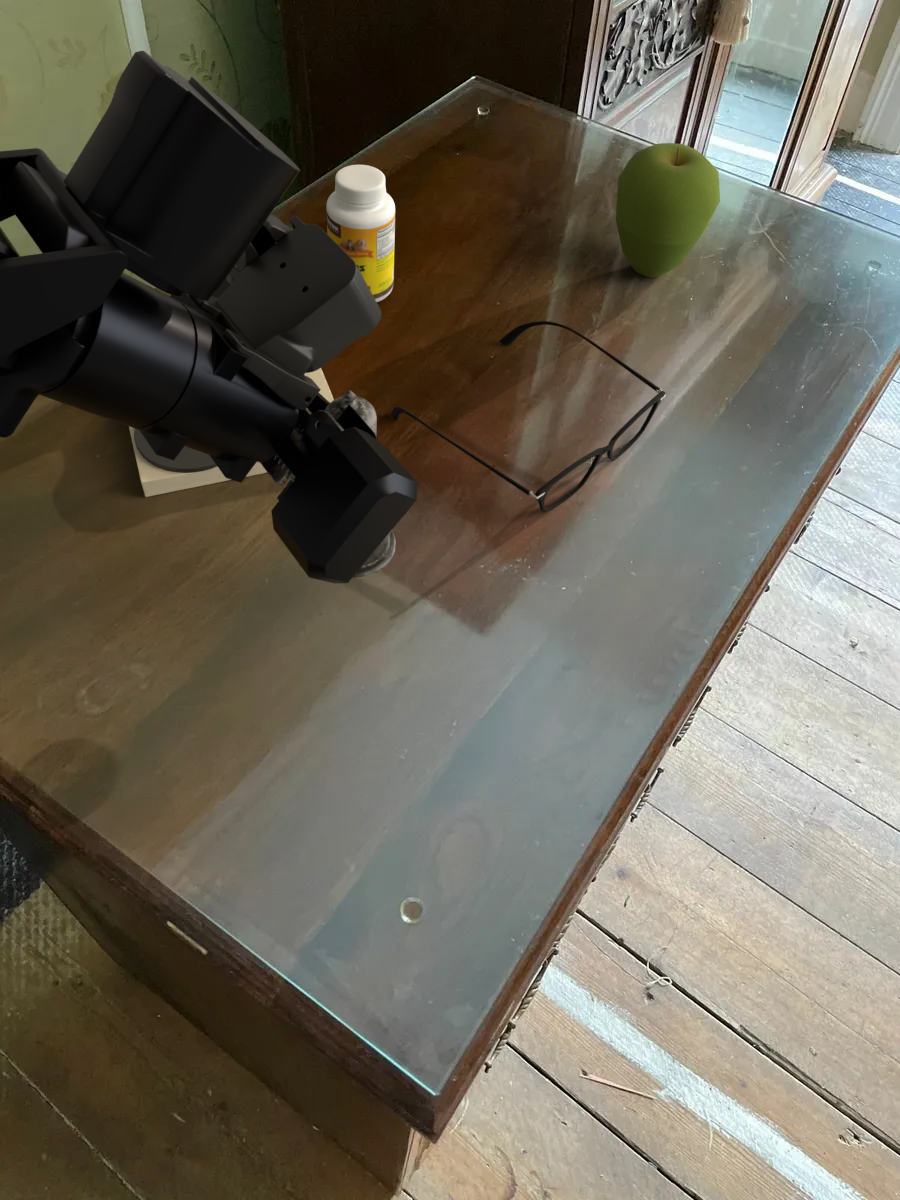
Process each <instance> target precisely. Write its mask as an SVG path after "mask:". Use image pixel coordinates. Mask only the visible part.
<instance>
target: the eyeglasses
mask: <svg viewBox="0 0 900 1200" xmlns="http://www.w3.org/2000/svg"><path fill="white" fill-rule="evenodd" d="M545 325H548V326H554V327H559V328H562V329H565V330H568V331H569V332H571V333H573V334H575V335H576V336H578V337H580V338H582V339H583V340H584V341H586V342H587V343H589V344H590V345H592V346H593V347H595V348H596V349H598V350H599V351H600V352H601V353H603V354H604V355H606V356H607V357H609V358H610V359H612V360H613V361H614V362H615V363H617V364H618V365H620V366H621V367H622V368H624V369H625V370H626V371H628V372H629V373H630V374H631V375H633V376H634V377H636V378H637V379H638V380H640V382H642V383H644V384H645V385H647V386H648V387H649V388H650V389H652V390H653V391H655V392H656V393H657V394H656V395H654V396H653V398H651V400H649V401H648V402H647V403H646V404H644V405H643V406H642V407H641V408H640V409H638V411H637V412H636V413H635V414H634V415H633V416H632V417H631V418H630V419H629V420H628V421H627V422H626V423H625V424H623V426H621V428H619V430H618V431H617V432H616V433H615V434H614V435H613V436H612V437H611V439H610V440H609V442H608V444H607V445H606V446H603V447H598V448H596V449H594V450H593V451H591V452H589V453H587V454H585V455H584V456H582V457H581V458H579V459H577V460H576V461H574V462H573V463H572V464H570V465H568V466H567V467H566V468H564V469H563V470H562V471H560V472H559V473H558V474H556V475H555V476H553V477H552V478H551V479H550V480H548V481H547V482H546V483H544V484H543V485H542V486H541V487H539V488H538V489H537V490H536V491H535V493H534V492H533V490H530V489H528V488H527V487H525V486H523V485H522V484H520V483H519V482H517V481H516V480H514V479H513V478H511V477H509V476H508V475H507V474H506V473H505V474H504V473H503V472H502V471H500V470H499V469H497V468H495V466H492V465H490V463H487V462H486V461H484V460H483V459H481V458H480V457H479V456H477V455H475V454H474V453H472V452H471V451H469V450H467V449H465V448H464V447H463V446H461V445H460V444H458V443H457V442H455V441H453V440H452V439H450V438H448V437H447V436H445V435H444V434H442V433H441V432H439V431H438V430H436V429H435V428H433V427H432V426H430V425H429V424H428V423H426V422H425V421H423V420H422V419H420V418H419V417H417V416H416V415H415V414H413V413H411V412H410V411H408V410H406V409H405V408H403V407H402V406H400V405H399V406H397V405H396V406H395V407H393V408H392V410H391V412H390V417H391V418H392V420H394V421H395V422H397V421H398V419H399V417H400V415H401V414H405V415H407V416H409V417H410V418H412V419H413V420H415V421H417V422H418V423H419V424H421V425H423V426H424V427H426V429H429V430H430V431H432V432H433V433H435V434H436V435H438V436H439V437H441V438H442V439H444V440H445V441H447V442H448V443H449V444H451V445H452V446H454V447H455V448H457V449H458V450H460V451H461V452H463V453H465V454H466V455H467V456H469V458H472V459H474V460H475V461H476V462H478V463H479V464H481V465H482V466H484V467H485V468H486V469H488V470H490V471H491V472H493V473H494V474H496V475H497V476H499V477H500V478H502V479H503V480H505V481H506V482H508V483H509V484H511V485H512V486H514V487H515V488H516V489H518V490H519V491H521V492H522V493H524V494H526V495H527V496H529V498H534V499H535V500H536V501H537V502H538V505H539V506H538V507H539V509H540V511H542V512H543V513H548V512H550V511H552V510H554V509H555V508H557V507H558V506H561V504H563V503H565V502H566V501H567V500H569V498H571V497H572V496H574V495H575V494H576V493H577V492H579V490H580V489H582V488H583V486H584V485H585V484H586V482H588V480H589V478H590V477H591V475H592V473H593V472H594V470H595V469H596V467H597V465H598V464H599V462H600V460H601V459H602V457H603V458H606V457H607V459H608V460H610V461H611V462H613V461H615V460H617V459H618V458H620V457H621V456H622V455H623V454H624V453H625V452H627V450H629V448H631V447H632V446H633V445H634V444H635V442H636V441H637V440H638V439H640V437H641V436H642V434H643V433H644V431H645V430H646V428H647V427H648V425H649V424H650V422H651V420H652V418H653V416H654V415H655V413H656V411H657V409H658V407H659V405H660V404H661V403H662V401H663V400H664V398H666V396H667V393H666V391H664V390H663V389H662V388H660V387H659V386H657V385H656V384H654V382H652V381H650V380H649V379H648V378H646V377H645V376H643V375H642V374H641V373H640V372H638V371H636V370H635V369H633V368H631V366H629V365H628V364H626V363H625V362H623V361H622V360H620V359H619V358H617V357H616V356H614V355H613V354H611V353H610V352H608V351H607V350H606V349H604V348H603V347H601V346H600V345H598V344H597V343H596V342H594V341H593V340H591V339H589V338H587V336H585V335H583V334H582V333H580V332H579V331H577V330H575V329H573V328H571V327H569V326H567V325H564V324H561V323H558V322H553V321H548V320H547V321H546V320H539V321H531V322H527V323H523V324H520V325H518V326H516V327H515V328H513V329H512V330H510V331H508V333H506V334H505V335H504V336H503V337H502V338H501V339H499V340H498V343H500V344H502V345H505V346H510V345H512V344H513V343H514V342H515V340H516V339H518V337H520V336H521V334H523V333H524V332H525V331H527V330H528V329H530V328H532V327H537V326H545ZM650 408H651V409H650ZM649 409H650V411H649V413H648V414H647V416H646V418H645V420H644V422H643V424H641V427H640V429H639V430H638V431H637V433H636V434H635V435H634V436H633V437H632V439H630V440H629V441H628V443H626V445H624V446H623V447H622V448H621V449H620V450H619V451H618V452H617V453H615V454H614V455H613V451H614V447H615V444H616V442H617V441H618V439H620V438H621V436H622V435H623V434H624V433H625V432H626V431H627V430H628V429H629V428H630V427H631V426H632V425H633V424H634V423H635V422H636V421H637V420H638V419H639V418H640V417H642V415H643V414H645V413H646V412H647V411H648V410H649ZM589 460H590V461H589ZM584 463H587V464H586V465H587V466H586V467H587V468H588V470H587V472H586V473H585V474H584V476H583V477H582V479H581V480H580V482H579V483H578V484H577V485H576V486H575V487H573V488H572V489H571V490H570V491H569V492H568V493H567V494H565V495H564V496H562V497H561V498H559V499H558V500H556V501H555V502H553V503H552V504H550V505H547V506H546V505H545V504H546V503H545V500H546V497H547V493H548V491H549V490H550V489H551V488H552V487H553V486H554V485H555V484H557V483H558V482H559V481H561V480H562V479H563V478H564V477H565V476H567V475H568V474H570V473H571V472H572V471H574V470H575V469H577V468H578V467H580V466H581V465H583V464H584Z"/></svg>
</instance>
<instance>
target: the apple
mask: <svg viewBox="0 0 900 1200" xmlns="http://www.w3.org/2000/svg"><path fill="white" fill-rule="evenodd" d="M616 188H617V190H616V191H617V194H616V209H615V222H616V228H617V232H618V238H619V243H620V248H621V252H622V253H623V255H624V257H625V259H626V260H627V261H628V263H629V264H630V267H632V269H633V270H634V271H635V272H636V273H638V274H639V275H642V276H644V277H646V278H652V279H655V278H659V277H661V276H664V275H666V274H668V273H669V272H671V271H673V270H674V269H676V268H679V267H680V266H681V264H682V263H683V262H684V260H686V258H687V256H688V255H689V253H690V252H691V251H692V249H693V248H694V247H695V245H696V244H697V242H698V241H699V240H700V238H701V237H702V236H703V234H704V233H705V231H706V230H707V228H708V226H709V224H710V222H711V220H712V218H713V216H714V214H715V212H716V211H717V208H718V207H719V204H720V203H721V189H720V188H721V187H720V173H719V170H718V169H717V168H716V166H714V165H713V163H711V161H710V160H709V159H707V157H706V156H705V155H704V154H703V153H701V152H700V151H698V150H697V149H696V148H693V147H691V146H688V145H686V144H684V143H675V142H662V143H655V144H653V145H650V146H647V147H645V148H643V149H640V150H639V151H636V152H635V153H634V154H633V155H632V156H631V157H630V158H629V160H628V162H627V163H626V165H625V166H624V167H623V170H622V171H621V173H620V174H619V175H618V177H617V187H616Z"/></svg>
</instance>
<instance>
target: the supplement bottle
mask: <svg viewBox="0 0 900 1200" xmlns="http://www.w3.org/2000/svg"><path fill="white" fill-rule="evenodd" d="M334 180H335V181H334V182H335V185H334V191H333V192H331V194H330V195H329V196H328V198H327V200H326V206H325V207H326V211H325V212H326V231H327V232H326V233H327V234H328V235H329V236H330V237H331V238H332V239H333V240H334V241H335V242H336V243H337V244H338V245H339V246H340V247H341V248H342V249H343V250H344V251H345V252H346V253H347V254H348V255H349V256H350V257H351V258H352V259H353V261H354V262H355V264H356V265H357V267H358V269H359V271H360V273H361V275H362V276H363V278H364V280H365V282H366V284H367V286H368V287H369V289H370V291H371V293H372V295H373V297H374V298H375V300H376V302H377V303H379V302H381V301H383V300H385V299H386V298H387V297H388V296H389V295H390V294H391V293H392V291H393V288H394V283H395V281H394V280H395V246H396V245H395V244H396V243H395V240H396V239H395V237H396V205H395V202H394V199H393V198H392V196H391V195H390V194H389V192H387V188H386V187H387V186H386V176H385V174H384V173H383V172H382V171H381V170H380V169H378V168H377V167H374V166H371V165H367V164H351V165H347V166H344V167H342V168H341V169H339V170H338V171H337V172H336V174H335V177H334Z"/></svg>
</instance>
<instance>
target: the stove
mask: <svg viewBox="0 0 900 1200" xmlns="http://www.w3.org/2000/svg"><path fill="white" fill-rule="evenodd" d="M304 375H305V376H307V377H309V378H311V379H312V380H313V381H314V382H315V383H316V385H317V386H318V387H319V388H320V389H321V390H320V391H319V393H320V394H321V395H322V396H323V397H324V398H325V399H326V400H328V401H329V402H330V403H331V402H332V401H333V400H335V398H334V397H333V394H332V392H331V391H332V390H331V389H330V387H329V384H328V382H327V380H326V379H327V378H326V377H325V374H324V371H323V370H322V367H321V368H320V369H318V370H316V371H314V372H310V373H305V374H304ZM128 429H129V434H130V438H131V442H132V447H133V452H134V456H135V461H136V465H137V469H138V470H137V471H138V474H139V480H140V484H141V487H142V491H143V494H144V497H145V498H148V497H153V496H158V495H164V494H167V493H168V494H169V493H172V492H173V493H174V492H177V491H178V492H179V491H181V490H182V491H184V490H187V489H193V488H198V487H203V486H208V485H214V484H217V483H222V482H228V481H232V480H231V479H228V478H225V476H224V475H223V473H222V472H221V471H220V469H219V468H218V467H217V465H216V464H215V462H214V461H213V460H212V458H211V457H210V456H209V455H208V454H205V453H203V452H200V451H197V450H194V449H191V448H188V447H186V446H184V447H183V449H182V450H181V452H180V453H179V454H178V456H177V457H176V458H175V460H171V459H168V458H165V457H162V456H159V455H156V454H155V452H154V451H153V450H152V448H151V447H150V445H149V444H148V442H147V441H146V439H145V438H144V436H143V435H142V433H141V432H140V431H139V430H138V429H135V428H132V427H129V426H128ZM262 474H268V473H267V471H266V470H265V469H264V467H263V466H262V465H261V463H260V462H256V464H255V465H254V466H253V468H252V469H251V470H250V472H249V473H248V474H247V476H246V477H245V478H247V477H252V476H257V475H262Z"/></svg>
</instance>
